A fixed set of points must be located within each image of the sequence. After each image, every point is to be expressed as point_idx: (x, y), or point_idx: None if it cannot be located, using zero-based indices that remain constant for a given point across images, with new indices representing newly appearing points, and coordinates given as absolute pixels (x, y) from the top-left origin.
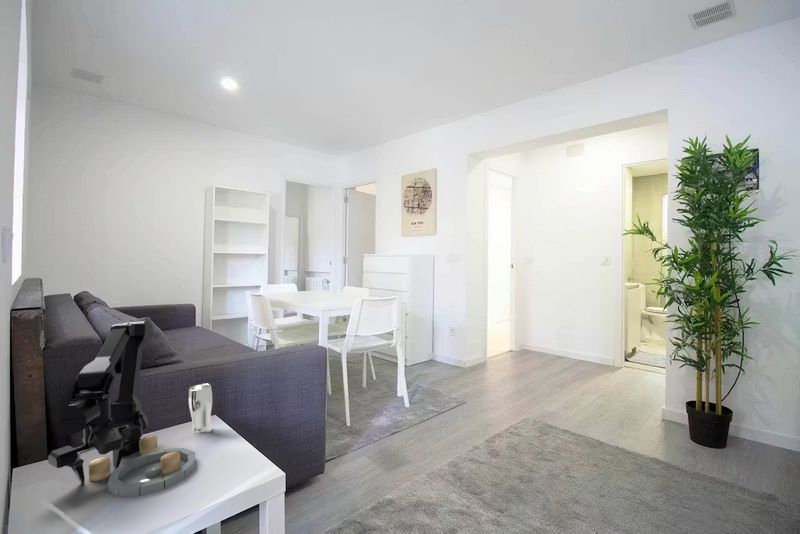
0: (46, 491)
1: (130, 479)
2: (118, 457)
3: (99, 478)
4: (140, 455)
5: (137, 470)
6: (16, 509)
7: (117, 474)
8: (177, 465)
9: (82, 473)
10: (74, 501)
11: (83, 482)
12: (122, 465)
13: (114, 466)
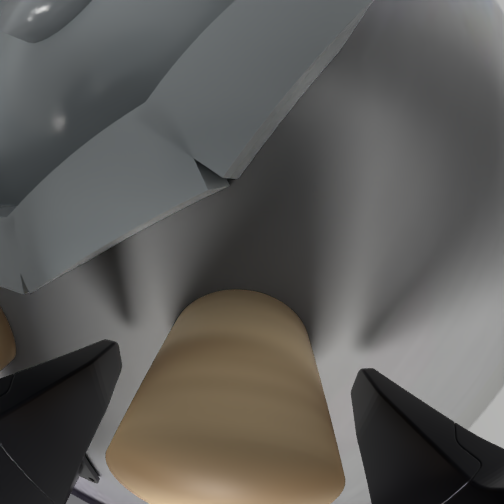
0: None
1: (152, 29)
2: (36, 390)
3: (279, 323)
4: (1, 348)
5: (43, 147)
6: (498, 392)
7: (214, 38)
8: None
9: (425, 422)
10: (471, 219)
11: (370, 373)
12: (57, 247)
13: (113, 377)
